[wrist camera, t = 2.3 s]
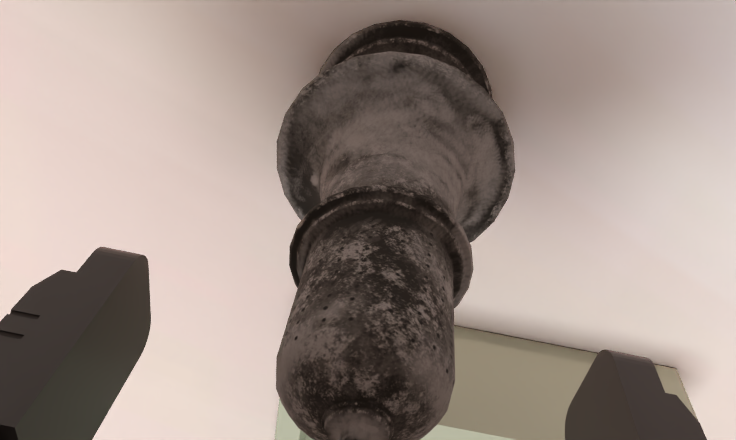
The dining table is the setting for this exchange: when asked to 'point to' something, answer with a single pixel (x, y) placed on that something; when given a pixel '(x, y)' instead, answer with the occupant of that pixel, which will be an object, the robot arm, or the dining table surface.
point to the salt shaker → (385, 228)
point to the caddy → (508, 390)
